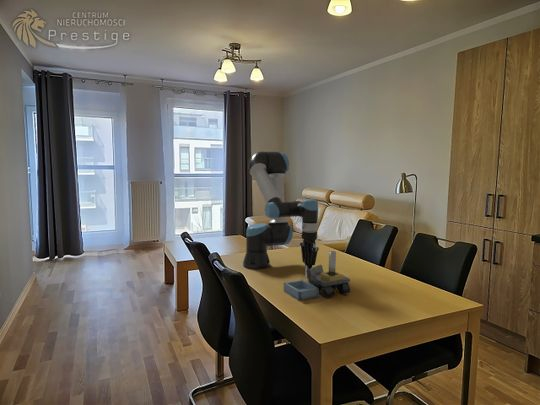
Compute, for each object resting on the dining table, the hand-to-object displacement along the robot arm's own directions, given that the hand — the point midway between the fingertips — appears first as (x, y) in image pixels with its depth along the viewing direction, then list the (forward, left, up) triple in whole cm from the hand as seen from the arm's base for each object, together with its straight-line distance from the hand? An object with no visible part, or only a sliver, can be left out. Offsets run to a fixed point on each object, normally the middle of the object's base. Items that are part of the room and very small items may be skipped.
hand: (308, 277), depth 179 cm
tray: (+14, -13, -2) cm, 19 cm away
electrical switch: (+6, 0, -2) cm, 7 cm away
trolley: (+18, 0, -2) cm, 18 cm away
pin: (+19, 0, +5) cm, 19 cm away
